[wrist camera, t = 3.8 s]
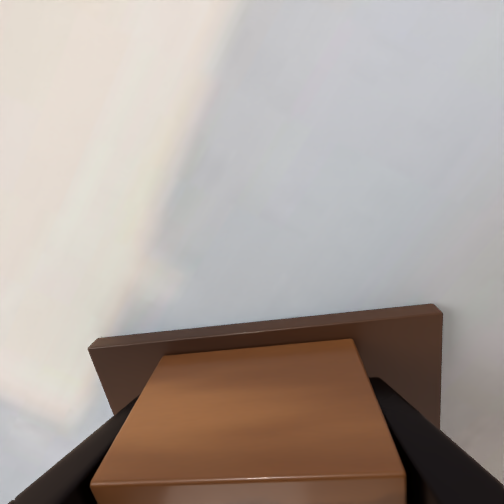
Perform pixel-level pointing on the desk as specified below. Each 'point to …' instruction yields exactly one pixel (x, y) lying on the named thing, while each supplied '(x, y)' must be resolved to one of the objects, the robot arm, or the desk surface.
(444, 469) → the robot arm
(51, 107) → the desk surface
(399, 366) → the brown wooden board
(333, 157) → the desk surface
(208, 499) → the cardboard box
